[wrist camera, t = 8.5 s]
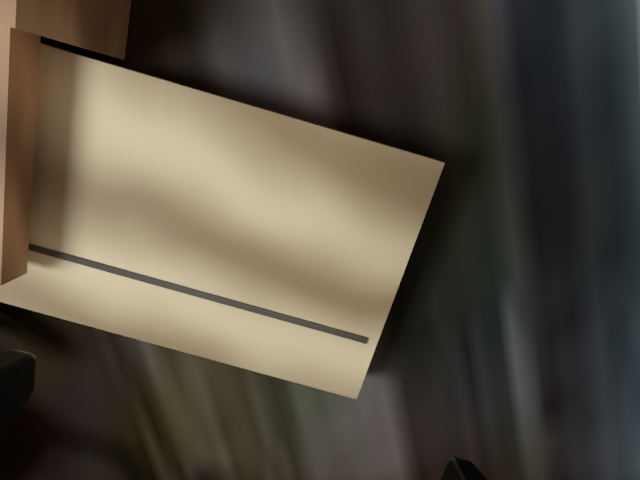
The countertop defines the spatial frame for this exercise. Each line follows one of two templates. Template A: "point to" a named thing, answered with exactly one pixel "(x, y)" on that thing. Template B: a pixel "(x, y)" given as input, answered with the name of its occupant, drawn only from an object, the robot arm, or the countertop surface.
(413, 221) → the board
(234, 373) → the countertop surface
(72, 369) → the countertop surface
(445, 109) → the countertop surface
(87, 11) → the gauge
